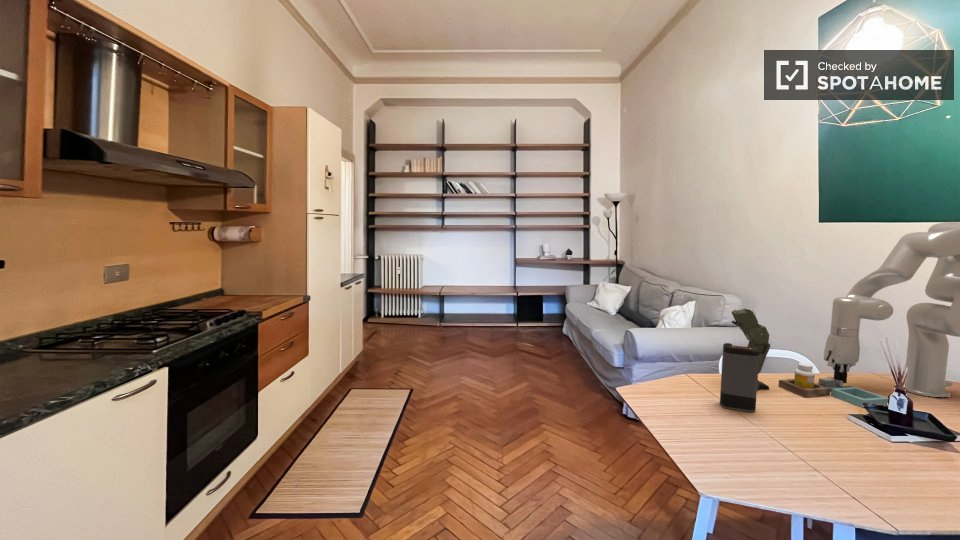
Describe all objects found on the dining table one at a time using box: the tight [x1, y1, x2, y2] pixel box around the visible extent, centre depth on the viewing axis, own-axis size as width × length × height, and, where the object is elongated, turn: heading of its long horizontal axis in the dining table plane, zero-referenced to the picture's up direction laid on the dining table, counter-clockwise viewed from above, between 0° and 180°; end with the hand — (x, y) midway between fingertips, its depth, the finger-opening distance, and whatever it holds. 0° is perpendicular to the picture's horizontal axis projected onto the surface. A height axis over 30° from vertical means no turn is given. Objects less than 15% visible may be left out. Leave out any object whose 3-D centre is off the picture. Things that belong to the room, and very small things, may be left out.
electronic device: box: [719, 342, 759, 413], centre depth 126 cm, size 9×6×20 cm, turn 65°
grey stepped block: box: [818, 375, 844, 387], centre depth 142 cm, size 6×4×3 cm
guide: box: [815, 382, 853, 393], centre depth 143 cm, size 12×5×2 cm, turn 99°
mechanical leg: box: [731, 307, 771, 391], centre depth 144 cm, size 14×7×30 cm, turn 83°
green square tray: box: [830, 386, 890, 409], centre depth 133 cm, size 10×10×2 cm
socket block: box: [778, 378, 831, 399], centre depth 141 cm, size 10×10×2 cm
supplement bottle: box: [793, 362, 815, 389], centre depth 140 cm, size 5×5×10 cm
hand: (839, 381), depth 143 cm, fingers closed
